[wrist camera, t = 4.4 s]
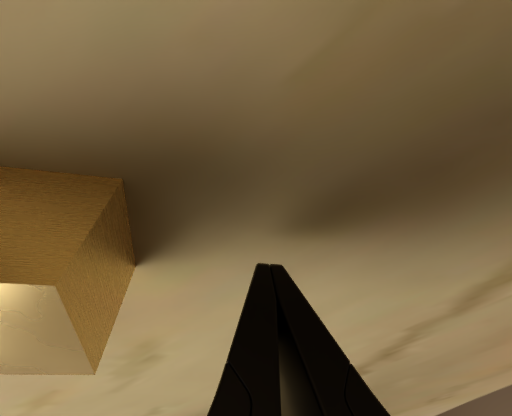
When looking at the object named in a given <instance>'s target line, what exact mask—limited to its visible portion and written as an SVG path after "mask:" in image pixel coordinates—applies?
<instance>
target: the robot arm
mask: <svg viewBox="0 0 512 416" xmlns="http://www.w3.org/2000/svg"><path fill="white" fill-rule="evenodd" d="M207 416H390V414H389V413H388V412H387V411H386V409H385V408H384V407H383V406H382V404H381V403H380V402H379V401H378V399H377V398H376V397H375V395H374V394H373V393H372V391H371V390H370V389H369V387H368V386H367V385H366V383H365V382H364V381H363V379H362V378H361V376H360V375H359V374H358V372H357V371H356V369H355V368H354V366H353V365H352V364H350V361H349V359H348V358H347V357H346V355H345V354H344V352H343V351H342V349H341V348H340V347H339V345H338V344H337V342H336V341H335V340H334V338H333V337H332V335H331V334H330V332H329V331H328V330H327V328H326V327H325V325H324V324H323V322H322V321H321V320H320V318H319V317H318V315H317V314H316V312H315V311H314V310H313V308H312V307H311V305H310V304H309V302H308V301H307V300H306V298H305V297H304V295H303V294H302V293H301V291H300V290H299V288H298V287H297V285H296V284H295V283H294V281H293V280H292V278H291V277H290V275H289V274H288V273H287V271H286V270H285V268H284V267H283V266H282V265H278V264H270V265H269V264H263V263H258V264H257V265H256V268H255V271H254V274H253V277H252V280H251V284H250V287H249V290H248V293H247V296H246V300H245V303H244V306H243V309H242V313H241V316H240V319H239V322H238V325H237V329H236V332H235V335H234V338H233V342H232V345H231V348H230V351H229V354H228V358H227V361H226V364H225V367H224V370H223V373H222V376H221V379H220V382H219V385H218V388H217V391H216V394H215V397H214V400H213V402H212V405H211V407H210V409H209V412H208V414H207Z"/></svg>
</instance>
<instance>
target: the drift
mask: <svg viewBox="0 0 512 416" xmlns="http://www.w3.org/2000/svg"><path fill="white" fill-rule="evenodd" d="M135 267H136V266H135V259H134V252H133V246H132V239H131V232H130V225H129V219H128V212H127V205H126V198H125V192H124V185H123V179H116V178H107V177H97V176H88V175H78V174H69V173H59V172H50V171H40V170H31V169H21V168H12V167H2V166H0V374H19V375H95V373H96V370H97V368H98V365H99V362H100V360H101V357H102V354H103V352H104V349H105V346H106V344H107V341H108V338H109V336H110V333H111V331H112V328H113V325H114V323H115V320H116V317H117V315H118V312H119V309H120V307H121V304H122V301H123V299H124V296H125V293H126V291H127V288H128V285H129V283H130V280H131V277H132V275H133V272H134V269H135Z"/></svg>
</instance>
